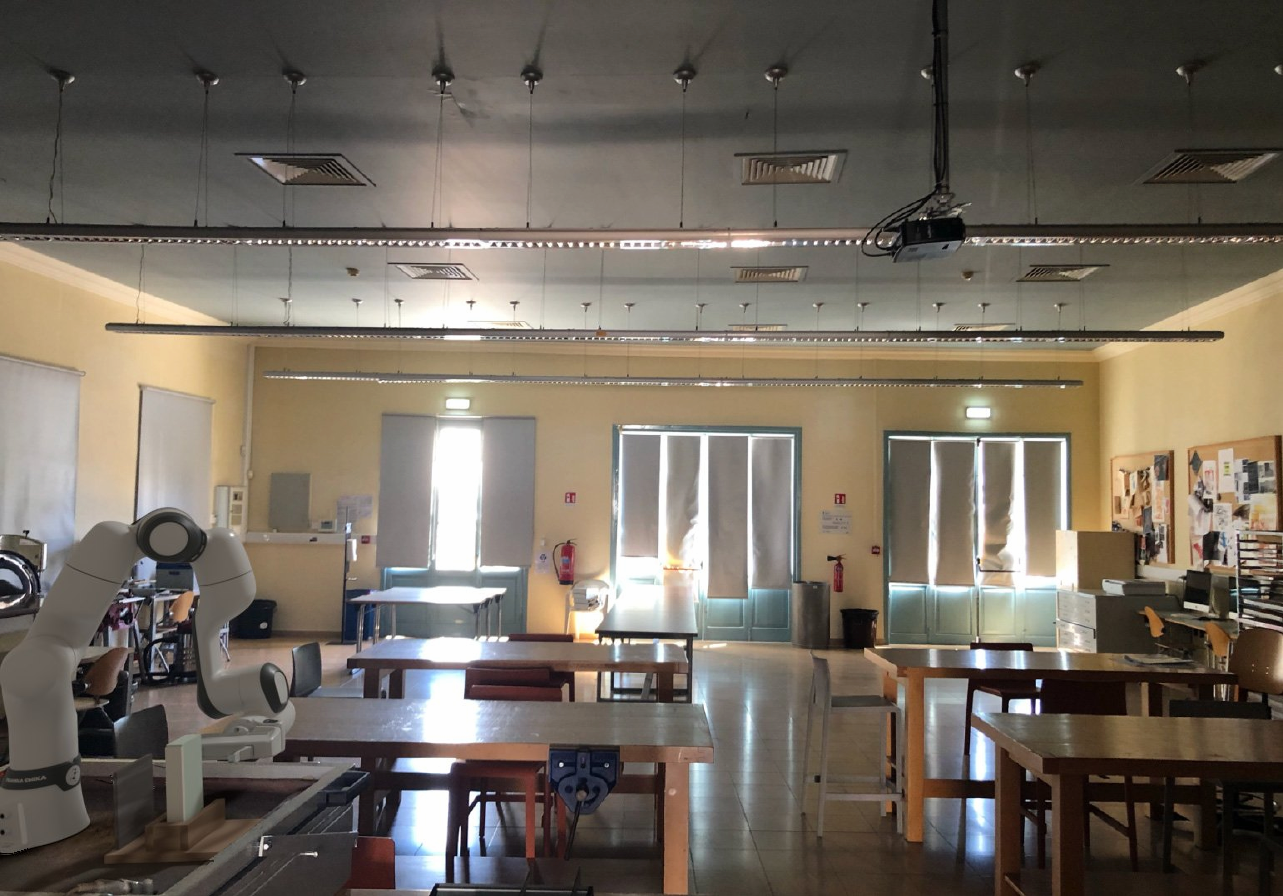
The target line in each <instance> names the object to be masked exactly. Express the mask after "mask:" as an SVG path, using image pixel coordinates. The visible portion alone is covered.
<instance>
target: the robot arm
mask: <svg viewBox="0 0 1283 896" xmlns="http://www.w3.org/2000/svg"><path fill="white" fill-rule="evenodd" d="M145 558H148V559H149V560H152V561H154V562H157V563H159V564H160V563H161V564H181V563H182V564H183V563H184V564H185V563H186V564H189V565H190V566H191V568H192V570H193V573H194V576H195V580H196V583H197V587H198V591H199V602H198V605H197V607H195V609H194V610H193V611H192V613H191V635H192V637H191V638H192V645H193V653H194V660H195V661H194V662H195V671H196V684H197V685H196V703H197V706H198V708H199V710H200V711H201V712H202V713H203V714H204V715H205V716H207V717H209V718H210V719H213V720H220V719H221V720H222V719H224V718H226V717H231V716H234V715H236V714H241V713H243V714H242V715H241V716H239V717H237V718H236V719H234V720H232V721H230V722H229V723H228V724H227V725H226V726H225V727H224V730H223V732H209V733H207V732H206V733H200V734H201V747H202V762H205V761H206V762H207V761H227V763H229V764H236V763H238V762H240V761H246V760H250V759H252V760H253V759H269V758H273V757H275V756H276V755H279V753H283V752H284V751H285V749H286V734H287V733H289V731H290V730H291V728H292V727H293V724H294V723H295V720H296V715H297V713H296V708H295V706H294V704H293V702H292V701H290V688H289V683H288V678H287V676H286V674H285V673H284V671H283V670H282V669H281V668H279V667H278V666H277V665H276V664H274V663H272V662H269V661H268V662H264V663H263V662H262V663H259V664H254V665H253V664H252V665H248V666H247V667H240V668H238V669H231V670H227V669H225V668H224V666H223V662H222V661H223V658H222V651H221V641H220V633H221V630H222V628H223V627H224V626H225V625H226V624H227V623H229V622H230V621H231V620H233V619H235V618H236V617H237V616H239V615H240V614H242V613H243V612H244V611H246V609H248V608H249V606H250V605H251V604H252V603H253V601H254V599H255V598H256V594H257V581H256V577H255V574H254V571H253V568H252V564H251V562H250V558H249V556H248V553H247V551H246V549H245V547H244V544H243V542H242V540H241V539H240V537H239V535H238V533H236V532H235V531H234V530H233V529H231V528H228V527H222V526H221V527H212V528H209V529H203V528H201V527H200V526H199V525H198V524H197V523H196V522H195V520H194V519H193V518H192V516H191V515H190V514H189V513H187V512H185V511H183V510H182V509H179V508H177V507H169V506H165V507H160V508H156V509H154V510H152V511H150V512H148V513H146V514H144V515H143V516H142V517H140V518H138V519H137V520H135V521H134V522H132V523H130V524H126V523H124V522H121V521H115V520H105V521H104V520H103V521H100V522H98V523H96V524H95V525H94V526H92V528H90V529H89V531H88V532H87V533H86V534H85V536H83V538H82V539H81V540H80V541H79V542H78V543H77V545H76V547H74V550H72V552H71V554H70V555H69V557H68V558H67V560H66V562H65V563H64V565H63V567H62V568H61V570H60V571H59V573H58V575H57V577H56V579H54V582H53V583H52V586H51V587H50V588H49V590H48V592H47V593H46V595H45V596H44V599H42V600H43V601H42V603H41V606H40V608H39V610H38V612H37V614H36V617H35V618H34V620H33V622H32V624H31V626H30V628H29V630H28V632H27V633H26V635H25V637H24V638H23V640H22V641H21V642H20V643H19V644H18V645H16V646H15V647H14V648H12V649H11V650H10V651H9V652H8V653H7V654H5V656H4V658H3V659H2V662H1V664H0V686H1V695H2V700H3V707H4V710H5V711H4V712H5V714H6V715H5V716H6V721H7V727H8V751H9V753H8V755H9V766H7V767H6V768H5V769H3V770H1V771H0V779H1V778H3V779H2V781H1V784H0V852H1V853H13V854H15V853H14V852H17V851H20V852H22V851H21V850H23V851H25V850H24V849H26V850H27V848H28V849H31V848H35V847H36V848H37V847H39V846H43V845H48V844H51V843H55V842H58V841H61V840H63V839H66V838H68V837H72V836H73V835H76V834H78V833H80V832H81V831H83V830H84V829H86V828H87V827H88V826H89V825H90V823H91V820H90V817H89V815H88V812H87V809H86V805H85V801H84V795H83V792H82V791H83V790H82V785H81V779H82V778H81V777H82V770H83V769H82V755H81V753H80V752H79V737H78V736H79V735H78V732H79V731H78V728H79V727H78V713H77V711H76V706H75V701H74V694H73V693H74V692H73V685H72V674H73V673H74V672H75V671H76V669H77V668H78V666H79V664H80V663H81V661H82V659H83V657H84V655H85V653H86V651H87V650H88V648H89V646H90V644H91V642H92V640H93V639H94V636H95V634H96V633H97V631H98V629H99V627H100V625H101V623H102V621H103V619H104V618H105V615H106V614H107V612H108V611H109V609H110V607H111V605H112V603H113V602H114V600H115V598H116V596H117V595H118V593H119V592H120V590H121V588H122V586H123V584H124V583H125V581H126V580H127V579H126V578H127V577H128V576H129V574H130V572H131V570H132V569H133V568H134V566H135V565H136V564H137V563H138V562H139V561H140V560H142V559H145ZM17 853H18V852H17Z"/></svg>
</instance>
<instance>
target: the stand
mask: <svg viewBox="0 0 1283 896" xmlns="http://www.w3.org/2000/svg"><path fill="white" fill-rule="evenodd" d="M153 764H154V762H153V753H146V755H143V756H141V757H140V758H138V759H136V760H134V761H132V762H130V763H129V764H127V765H125V766H122V767H121V768H119V769H117V770H115V771H113V772H112V773H113V776H112V781H113V784H112V785H113V786H112V788H113V790H112V791H113V793H112V794H113V821H114V822H113V823H114V824H113V827H114V828H113V829H114V848H113V849H112V850H109V852H107V853H106V854H104V855H103V857H104V858H103V860H104V865H107V864H109V865H110V864H141V863H142V864H145V863H147V864H148V863H174V862H175V863H177V862H179V863H181V862H205V861H204V860H208V859H209V858H210V857H214V855H216V854H217V853H219V852H221V851H222V850H223V849H224V848H226V847H227V846H228V845H229V844H230V843H233V842H234V841H236V840H237V839H238V838H240V837H241V836H243V834H245V833H247V832H248V831H249V830H250V829H252V828H253V827H254V826H255V825H256V824H258V823H259V822H260V821H262V820H263V821H264V818H242V819H241V818H240V819H239V818H238V819H226V799H225V798H216V799H214V800H213V801H212V802H211V803H209V804H208V805H206V806H205V807H203V809H202V810H201V811H199V812H198V813H196V814H195V815H194V816H192V817H191V818H189V819H188V820H187V821H185V822H167V811H165V813H163V814H162V815H160V816H158V817H157V818H155V802H154V798H155V797H154V793H155V792H154V788H153V787H154V765H153Z"/></svg>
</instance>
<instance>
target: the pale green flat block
mask: <svg viewBox="0 0 1283 896" xmlns="http://www.w3.org/2000/svg"><path fill="white" fill-rule="evenodd" d="M201 734H202V733H195V734H194V733H191V734H184V735H182V736H181V737H179V738H177V739H175V740H173V741H171V742H170V743H167V744H166V746H165V747H164V757H165V759H164V761H165V762H164V763H165V766H166V768H165V783H166V784H165V787H166V789H165V791H166V795H165V797H166V812H167V822H185V821H187V820H188V819H189V818H191V817H192V816H194V815H195V814H196V813H198V812H199V811H201V810H202V809H204V786H203V784H204V783H203V761H202V747H201Z"/></svg>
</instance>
